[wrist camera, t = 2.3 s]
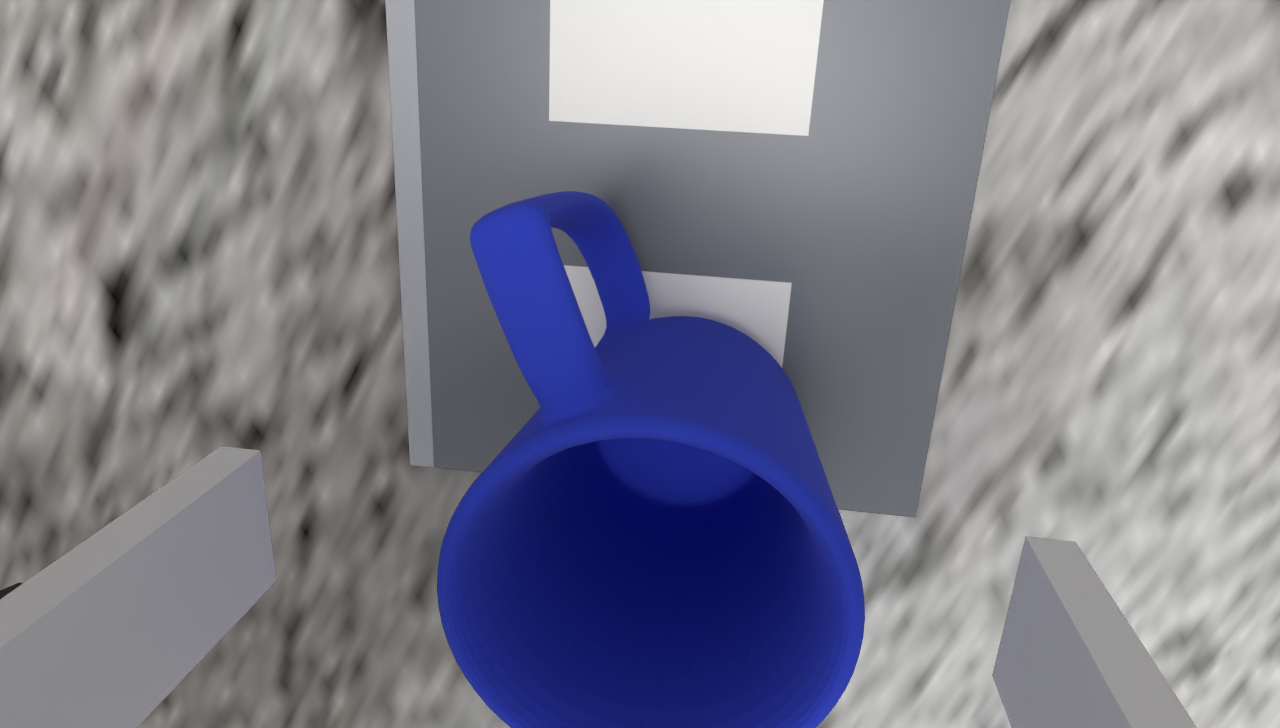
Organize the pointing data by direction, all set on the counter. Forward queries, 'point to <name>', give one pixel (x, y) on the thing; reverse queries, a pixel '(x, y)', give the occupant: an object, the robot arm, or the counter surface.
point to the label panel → (702, 196)
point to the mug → (642, 511)
